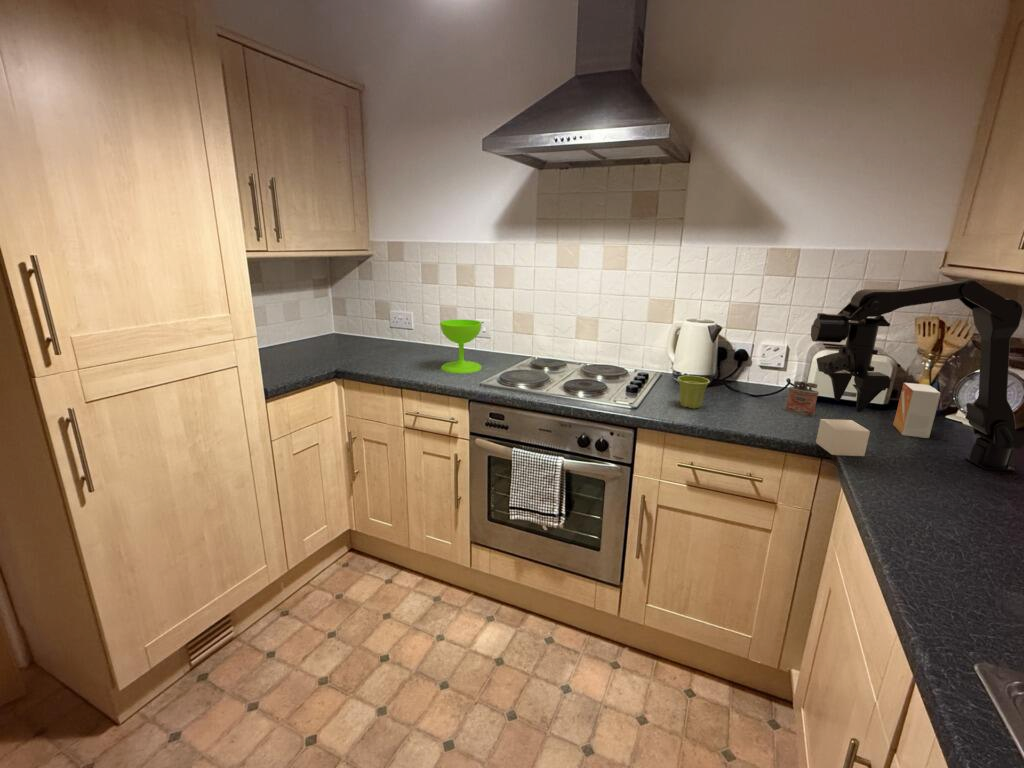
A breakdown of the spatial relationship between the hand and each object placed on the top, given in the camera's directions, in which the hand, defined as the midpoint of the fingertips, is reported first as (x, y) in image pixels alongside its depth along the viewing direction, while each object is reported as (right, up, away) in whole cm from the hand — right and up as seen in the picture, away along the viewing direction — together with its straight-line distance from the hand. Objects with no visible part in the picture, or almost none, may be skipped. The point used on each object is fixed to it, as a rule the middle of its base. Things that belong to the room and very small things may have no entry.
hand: (847, 405), depth 124 cm
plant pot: (-26, -2, +35) cm, 44 cm away
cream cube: (0, -11, +4) cm, 12 cm away
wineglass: (-103, +12, +75) cm, 128 cm away
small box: (+28, -8, +16) cm, 34 cm away
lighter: (+5, -4, +30) cm, 31 cm away
